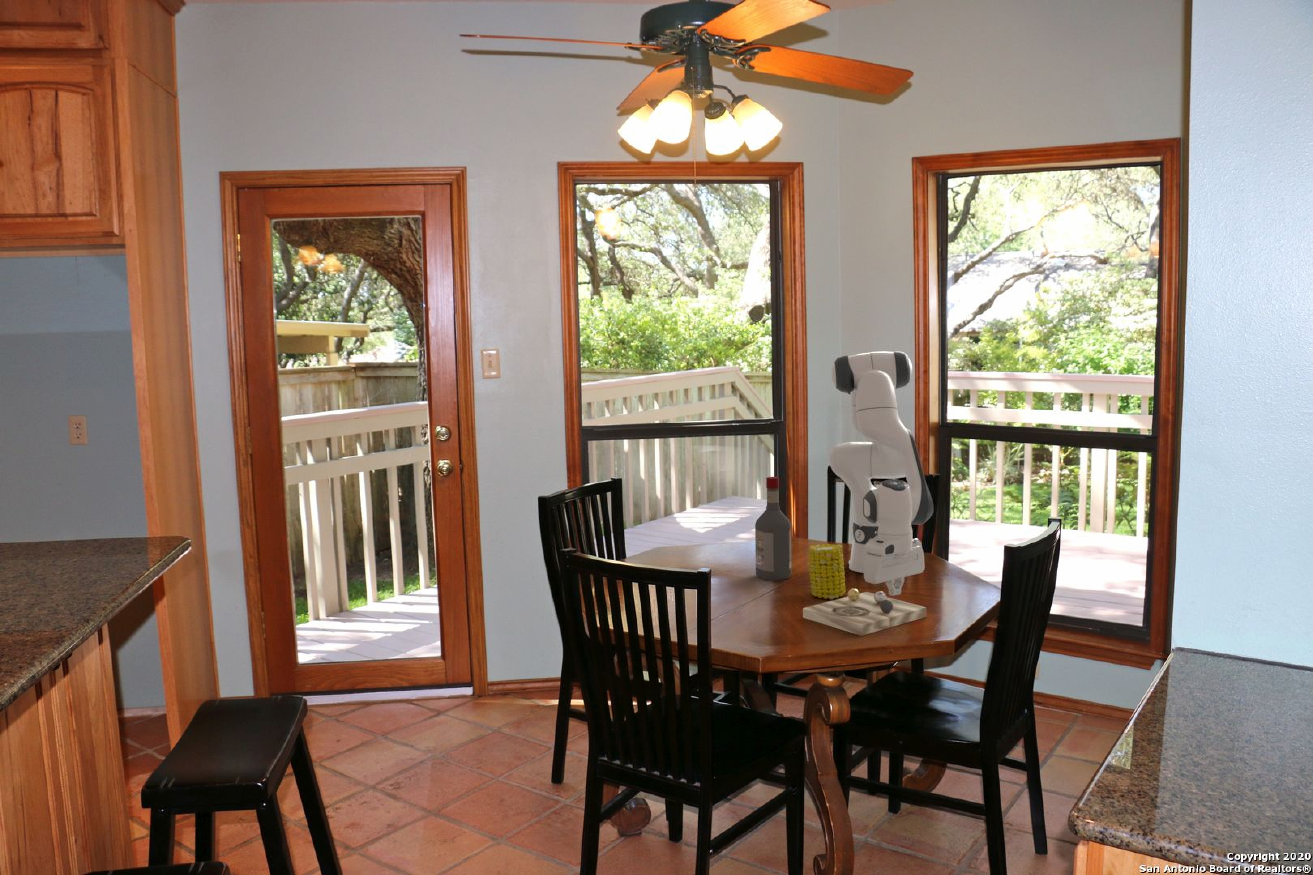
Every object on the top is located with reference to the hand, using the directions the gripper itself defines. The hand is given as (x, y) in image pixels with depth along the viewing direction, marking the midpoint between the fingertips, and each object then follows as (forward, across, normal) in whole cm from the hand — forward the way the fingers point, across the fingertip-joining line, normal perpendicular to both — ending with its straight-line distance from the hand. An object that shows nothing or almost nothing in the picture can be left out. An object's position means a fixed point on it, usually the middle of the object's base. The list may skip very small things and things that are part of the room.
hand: (894, 594), depth 265 cm
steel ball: (0, +6, 0) cm, 6 cm away
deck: (+4, +12, 0) cm, 12 cm away
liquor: (+4, 0, -46) cm, 46 cm away
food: (+4, +3, -21) cm, 22 cm away
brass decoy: (0, +8, -7) cm, 11 cm away
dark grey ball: (0, +10, +6) cm, 12 cm away
